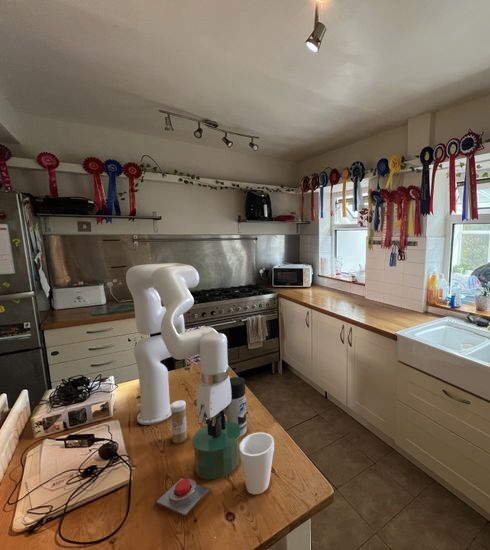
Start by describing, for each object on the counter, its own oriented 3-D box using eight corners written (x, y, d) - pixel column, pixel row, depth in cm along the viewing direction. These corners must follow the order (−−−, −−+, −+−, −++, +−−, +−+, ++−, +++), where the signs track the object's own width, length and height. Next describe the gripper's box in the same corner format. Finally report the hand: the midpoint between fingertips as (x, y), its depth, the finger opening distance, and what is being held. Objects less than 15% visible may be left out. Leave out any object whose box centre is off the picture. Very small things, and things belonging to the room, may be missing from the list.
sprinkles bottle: (169, 444, 98) (167, 407, 97) (176, 435, 103) (174, 399, 101) (183, 444, 99) (181, 407, 97) (189, 434, 103) (187, 399, 101)
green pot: (185, 473, 87) (184, 444, 85) (216, 445, 98) (215, 419, 97) (219, 486, 82) (218, 456, 81) (247, 455, 94) (246, 428, 93)
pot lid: (181, 447, 85) (180, 424, 84) (215, 419, 98) (214, 400, 97) (219, 460, 80) (218, 436, 79) (249, 429, 93) (249, 409, 92)
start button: (172, 493, 77) (171, 487, 77) (183, 483, 80) (183, 477, 80) (182, 498, 76) (182, 492, 75) (193, 487, 79) (193, 481, 79)
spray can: (240, 440, 101) (239, 386, 98) (223, 437, 102) (221, 384, 99) (249, 428, 107) (248, 377, 105) (233, 425, 109) (231, 375, 106)
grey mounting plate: (156, 505, 76) (155, 495, 76) (181, 481, 84) (181, 472, 83) (185, 518, 73) (184, 508, 72) (209, 492, 80) (208, 483, 80)
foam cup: (256, 505, 77) (255, 461, 75) (233, 489, 81) (232, 447, 80) (281, 480, 85) (280, 439, 83) (258, 467, 89) (258, 428, 88)
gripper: (223, 362, 95) (225, 414, 98) (182, 385, 80) (185, 446, 83) (242, 366, 93) (243, 419, 95) (203, 390, 78) (206, 453, 80)
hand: (216, 431), depth 89 cm, fingers closed on pot lid, 2 cm apart
